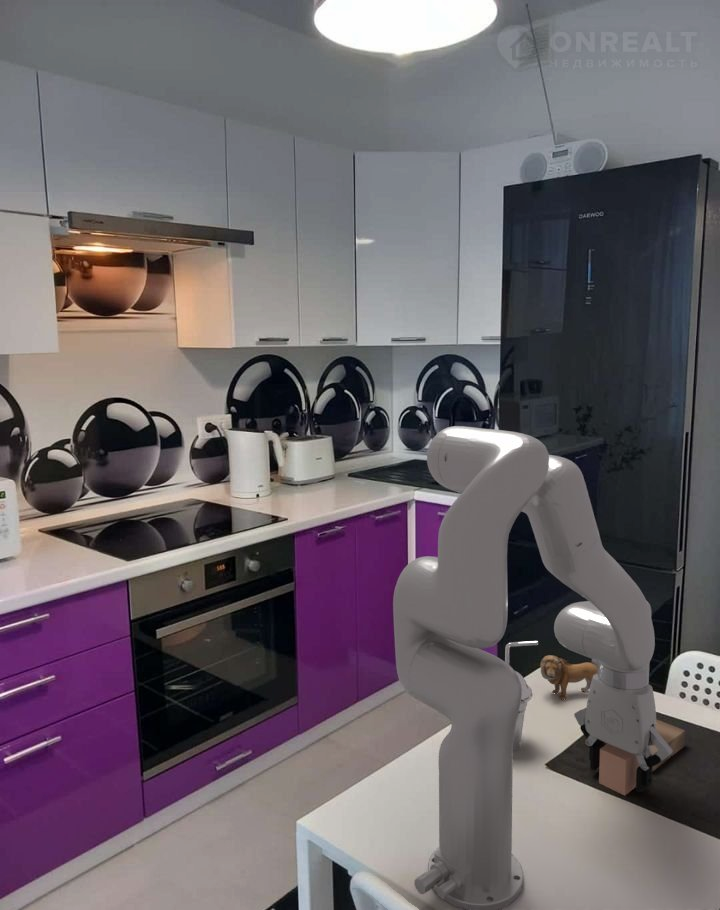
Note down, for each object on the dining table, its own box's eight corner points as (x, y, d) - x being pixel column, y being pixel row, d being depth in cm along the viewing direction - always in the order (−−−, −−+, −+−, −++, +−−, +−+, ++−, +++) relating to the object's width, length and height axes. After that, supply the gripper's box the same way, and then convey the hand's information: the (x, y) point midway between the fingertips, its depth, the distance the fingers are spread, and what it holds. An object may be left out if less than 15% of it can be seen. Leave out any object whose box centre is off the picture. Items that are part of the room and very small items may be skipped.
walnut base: (649, 773, 121) (650, 756, 121) (585, 744, 130) (585, 728, 130) (684, 746, 129) (685, 730, 129) (621, 720, 138) (621, 705, 138)
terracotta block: (624, 795, 116) (626, 760, 115) (598, 783, 119) (599, 748, 118) (639, 784, 119) (640, 749, 118) (613, 772, 122) (614, 738, 121)
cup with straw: (500, 727, 137) (501, 624, 133) (543, 745, 130) (545, 637, 127) (472, 745, 131) (473, 638, 128) (516, 765, 124) (518, 653, 121)
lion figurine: (546, 706, 144) (547, 662, 143) (534, 693, 149) (535, 651, 148) (615, 697, 147) (616, 654, 145) (601, 685, 152) (602, 643, 151)
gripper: (561, 663, 120) (559, 763, 123) (664, 701, 107) (659, 812, 110) (587, 649, 125) (584, 746, 128) (689, 684, 112) (683, 791, 115)
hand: (619, 776), depth 119 cm, fingers open, 7 cm apart
